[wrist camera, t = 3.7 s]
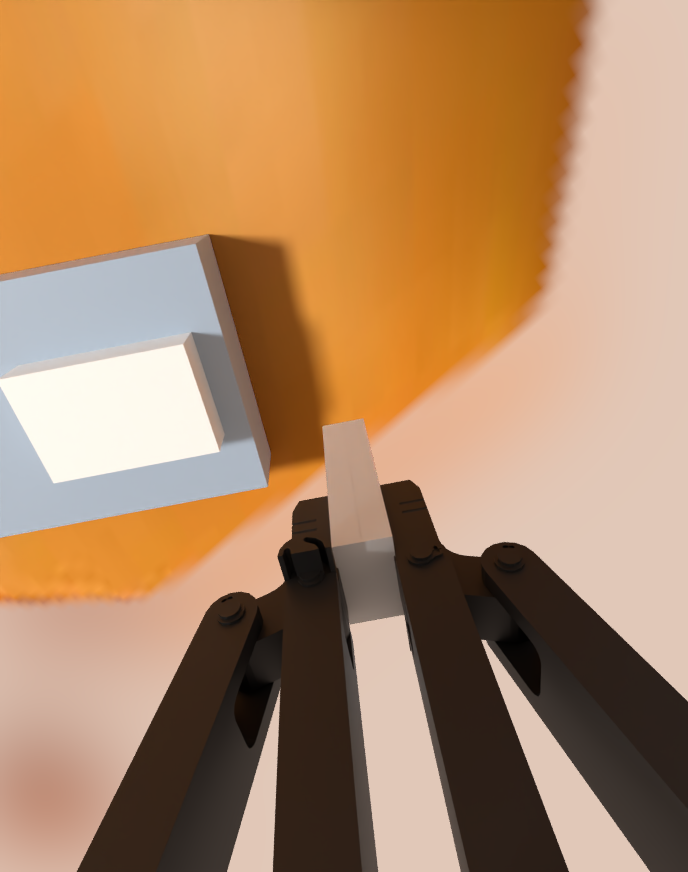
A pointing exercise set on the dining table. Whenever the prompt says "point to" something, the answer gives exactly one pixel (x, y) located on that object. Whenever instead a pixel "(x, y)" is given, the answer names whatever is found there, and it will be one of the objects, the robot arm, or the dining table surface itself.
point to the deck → (114, 326)
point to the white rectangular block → (116, 407)
